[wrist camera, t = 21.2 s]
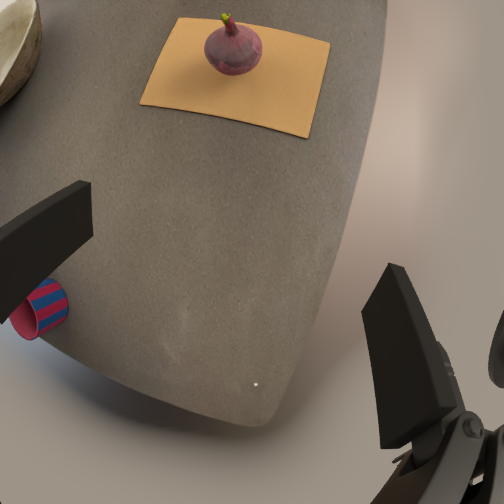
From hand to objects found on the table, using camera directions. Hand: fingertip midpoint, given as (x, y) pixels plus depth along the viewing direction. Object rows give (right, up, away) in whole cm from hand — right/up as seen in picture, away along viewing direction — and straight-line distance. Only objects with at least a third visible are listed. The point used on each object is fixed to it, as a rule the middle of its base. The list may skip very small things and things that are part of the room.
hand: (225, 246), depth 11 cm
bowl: (-40, +31, +16) cm, 53 cm away
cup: (-27, -5, +20) cm, 34 cm away
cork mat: (-1, +21, +16) cm, 27 cm away
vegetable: (-1, +21, +16) cm, 27 cm away
